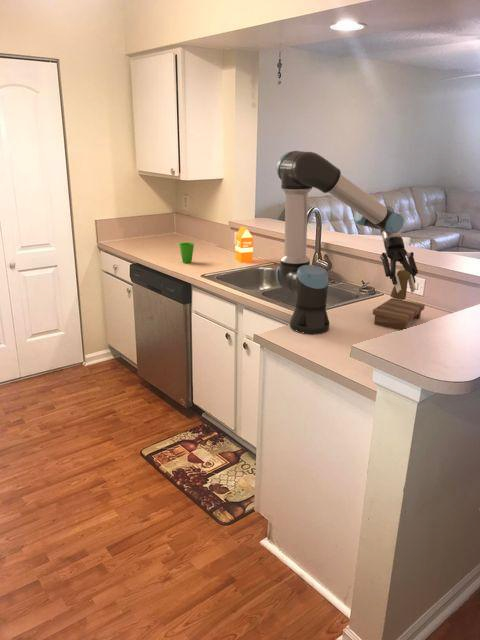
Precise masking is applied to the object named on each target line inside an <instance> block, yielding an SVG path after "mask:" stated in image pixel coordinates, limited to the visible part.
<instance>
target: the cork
mask: <svg viewBox="0 0 480 640" xmlns="http://www.w3.org/2000/svg"><path fill="white" fill-rule="evenodd" d="M396 275H398V278H399V282H400V286H401V289H402V290H401V291H400V292H399V293H397V291H396V287H395V285H393V288H392V290H391V291H390V292H391V293H390V296H389V297H391V298H394V299H399V300H404V301H406V297H407V289H408V284H409V282H408V280H409V278H410V276H411V274H410V272H408V271H405V269H400V270H398V271H396Z"/></svg>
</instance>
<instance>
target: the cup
mask: <svg viewBox="0 0 480 640" xmlns="http://www.w3.org/2000/svg"><path fill="white" fill-rule="evenodd" d="M178 245H179V249H180V256H181V260H182V261H181V262H182V263H183V264H192V262H193V254H194V249H195V248H194V246H195V243H194V242H179V243H178Z"/></svg>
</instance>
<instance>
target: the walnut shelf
mask: <svg viewBox="0 0 480 640" xmlns="http://www.w3.org/2000/svg"><path fill="white" fill-rule="evenodd" d="M425 306H426V304H425V303H420V302H414V301H410V300H400V299H395V298H393V297H391V298H389V299H388V300H386V301H385V302H383V303H381V304H380V305H378V306H376V307H375V308H374V309H372V315H373V316H374V323H373V324H374V325H375V326H378V327H379V326H380V327H383V328H389V329H392V330H398V331H402V330H403V329H406V330H407V325H408V322H409V321H411V320H412V319H415V320H420V319H421V315H422V312H423V311H424V310H425V308H426V307H425Z"/></svg>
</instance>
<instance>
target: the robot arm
mask: <svg viewBox="0 0 480 640" xmlns="http://www.w3.org/2000/svg"><path fill="white" fill-rule="evenodd" d="M276 174H277V176H278V178H279V180H280V181H281V188H280V189H281V190H282V191H283V192H284V195H285V198H284V199H285V201H284V204H285V205H284V206H285V207H284V212H285V213H284V255H283V256H282V257H281V258H280V264H279V265H278V266H277V267H276V271H275V279H276V281H277V283H278V285H279V286H280V287H281V288H282V289H283V290H284V291H286V292H290V293H291V294H293V295H294V296H295V308H294V310H293V312H292V316H291V318H290V320H289V327H291V328H292V329H294V330H297V331H299V332H298V333H300V332H304V333H303V334H305V333H320V334H324V333H327V332H328V331H329V330H330V320H329V317H328V311H327V299H328V298H327V297H328V287H329V273H328V272H327V270H326V269H325V268H323V267H322V266H318V265H317V266H316V265H313V264H311V258H309V256H308V255H307V241H308V240H307V239H308V238H307V237H308V236H307V235H308V212H309V211H308V209H309V208H308V207H309V201H308V200H309V193H310V192H311V191H312V190H313V188H314V189H317V190H319V191H320V192H322V193H323V194H327V193H329V194H330V195H331V196H333V197H334V198H336V199H337V200H339V201H340V202H342V203H343V204H344V205H346V206H347V207H349V208H350V209H352V210H353V211H354V213H353V221H354V223H355V224H357V225H359V226H362V227H363V226H364V227H368V228H372V229H375V230H376V229H377V230H379V231H380V234H381V238H382V242H383V245H384V250H385V252H382V253H381V254H380V256H379V257H380V259H381V261H382V265H383V270H384V274H385V277H386V278H389V279H390V280H391V283H392V284H393V286H394V285H395V287H396V291H397V293H399V292H400V291H401V290H402V289H401V286H400V282H399V278H398V275H397V271H396V270H397V269H396V268H397V262H398V263H400V265H401V266H402V267H403V270H405V271H408V272H410V274H411V276H410V278H409V280H408V285H409V290H410V293H414V292H415V291H416V290H417V289H416V285H415V284H416V283H417V282H416V278H415V276H417V274H418V273H419V272H418V268H417V267H418V266H417V264H416V261H415V258H414V252H413V251H411V252H407V249H406V248H405V241H404V239H403V235H402V229H403V227H404V225H405V220H404V216H403V215H402V214H400V213H398V212H396V211H395V209H394V208H393V207H392V206H390V205H386V206H385V205H384V204H382V203H380V202H379V201H378V200H377V199H375V198H374V197H373V196H372V195H369V193H367V192H366V191H364V190H363V189H362V188H360V187H359V186H357V185H356V184H355V183H354V182H352V181H351V180H350V179H348V178H347V177H345V176H344V175H343V174H342V172H341V170H340V168H338V167H337V166H335V165H334V164H332V162H330V161H329V160H328V159H326V158H325V157H323V156H322V155H320V154H318V153H316V152H313V151H300V150H293V151H288V152H285V153H284V154H283V155H282V156H281V157H280V158H279V160H278V162H277V166H276ZM389 259H390V263H389ZM291 328H290V329H291ZM292 329H291V330H292ZM294 330H293V331H294ZM326 331H327V332H326ZM323 332H324V333H323Z"/></svg>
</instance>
